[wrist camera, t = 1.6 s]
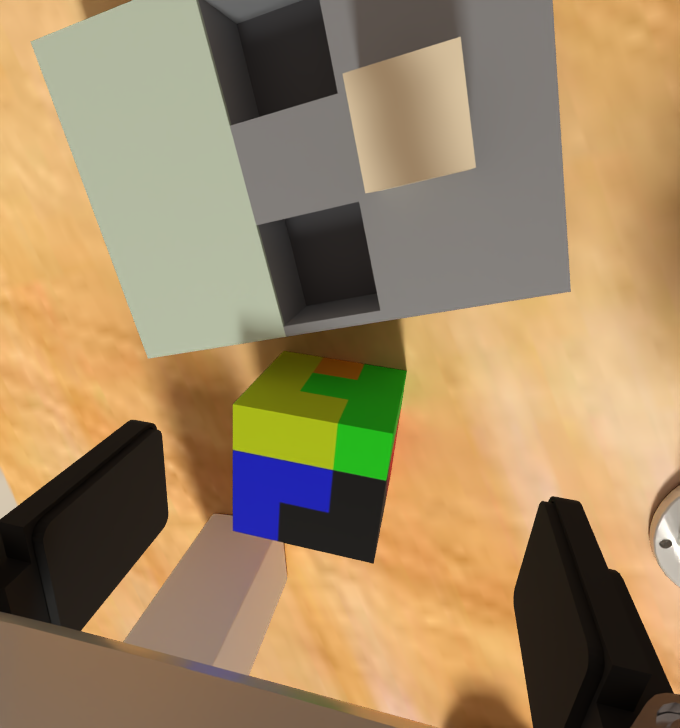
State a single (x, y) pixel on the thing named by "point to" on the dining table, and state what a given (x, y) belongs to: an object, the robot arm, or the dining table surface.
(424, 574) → the dining table surface
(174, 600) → the milk carton
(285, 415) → the puzzle toy
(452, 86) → the birch block
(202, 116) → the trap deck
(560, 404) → the dining table surface
